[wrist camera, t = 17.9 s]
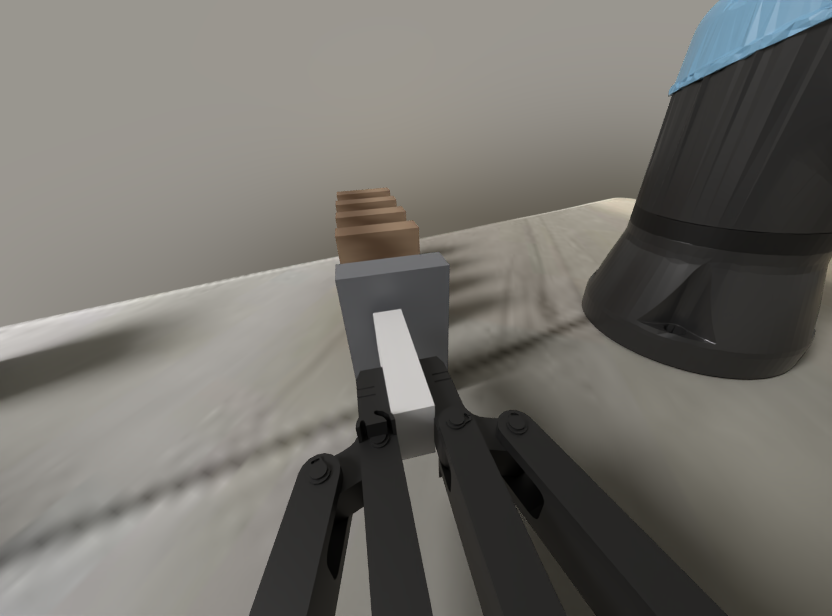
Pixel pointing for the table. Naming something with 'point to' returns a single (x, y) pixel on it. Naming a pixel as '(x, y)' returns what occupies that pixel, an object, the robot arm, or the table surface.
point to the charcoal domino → (395, 303)
